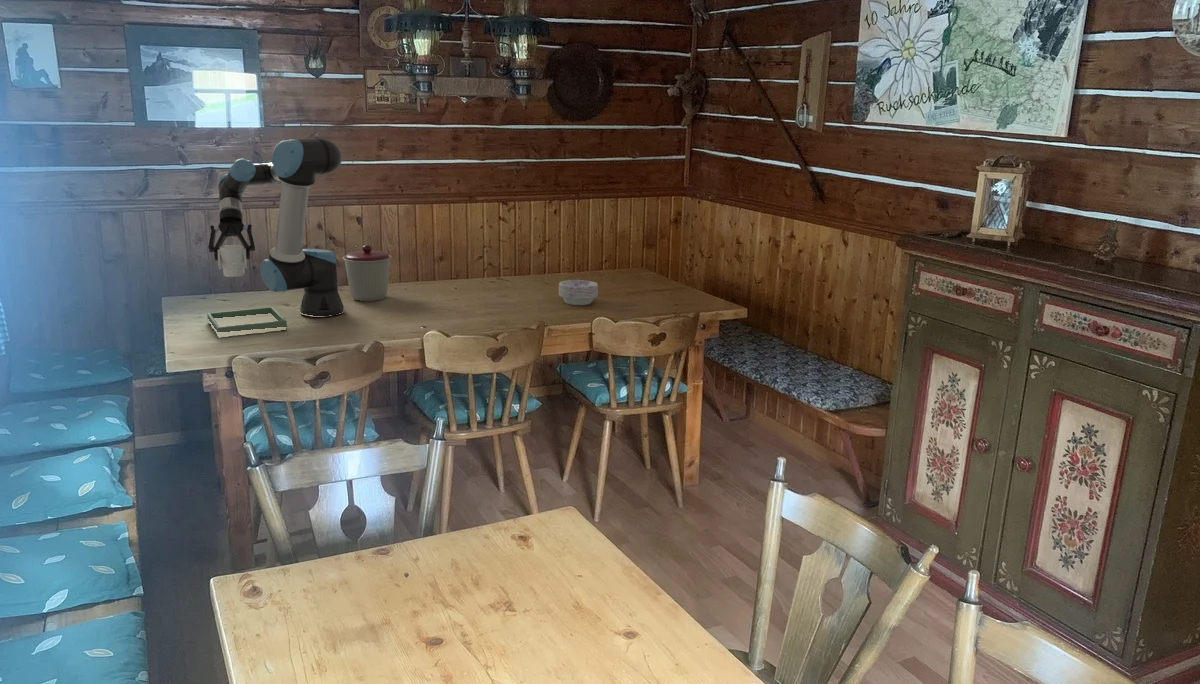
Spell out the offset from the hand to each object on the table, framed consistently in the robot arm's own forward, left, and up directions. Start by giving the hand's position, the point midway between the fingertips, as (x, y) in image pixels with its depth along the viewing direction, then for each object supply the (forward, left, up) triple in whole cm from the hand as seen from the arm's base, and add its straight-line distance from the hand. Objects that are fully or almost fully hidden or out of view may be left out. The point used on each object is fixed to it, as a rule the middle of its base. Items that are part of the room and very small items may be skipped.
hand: (232, 266), depth 316 cm
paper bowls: (-97, -76, -19) cm, 125 cm away
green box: (-10, +6, -19) cm, 22 cm away
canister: (-22, -46, -19) cm, 55 cm away
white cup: (+2, -3, -4) cm, 5 cm away
